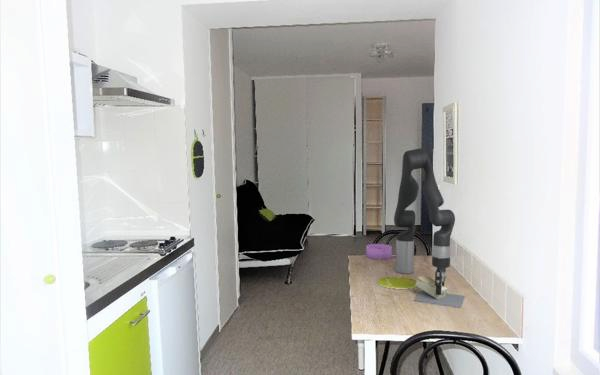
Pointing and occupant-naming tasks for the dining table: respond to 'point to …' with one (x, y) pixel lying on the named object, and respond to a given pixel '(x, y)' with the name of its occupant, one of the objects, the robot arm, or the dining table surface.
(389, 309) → the dining table surface
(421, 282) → the skincare box
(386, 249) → the purple basket
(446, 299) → the mat
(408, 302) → the dining table surface
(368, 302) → the dining table surface
